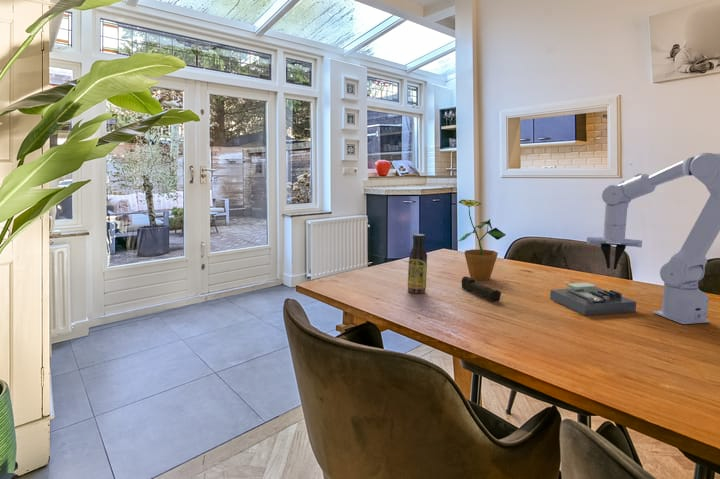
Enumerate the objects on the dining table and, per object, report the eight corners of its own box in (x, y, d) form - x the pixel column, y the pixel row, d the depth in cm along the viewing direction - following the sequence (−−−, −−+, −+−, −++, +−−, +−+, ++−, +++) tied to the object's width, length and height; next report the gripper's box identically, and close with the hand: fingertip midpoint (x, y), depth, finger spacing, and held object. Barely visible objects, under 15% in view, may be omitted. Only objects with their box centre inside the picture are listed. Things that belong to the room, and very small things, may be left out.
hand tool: (501, 302, 129) (502, 287, 129) (490, 303, 128) (490, 289, 128) (468, 287, 147) (469, 274, 147) (459, 288, 146) (459, 275, 146)
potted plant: (454, 282, 153) (456, 201, 148) (458, 271, 170) (459, 198, 166) (506, 285, 147) (509, 201, 143) (503, 273, 165) (506, 198, 160)
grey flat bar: (603, 301, 117) (604, 298, 117) (594, 302, 117) (594, 299, 117) (574, 289, 129) (575, 287, 129) (566, 290, 129) (566, 287, 129)
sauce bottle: (405, 292, 141) (404, 235, 138) (411, 288, 146) (411, 232, 143) (423, 295, 138) (423, 236, 134) (429, 290, 143) (429, 233, 140)
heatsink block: (635, 311, 118) (636, 296, 117) (584, 315, 115) (585, 300, 115) (595, 295, 133) (596, 282, 133) (550, 299, 131) (550, 285, 130)
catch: (595, 292, 127) (596, 285, 126) (574, 293, 126) (575, 287, 125) (586, 288, 131) (587, 282, 130) (566, 290, 130) (566, 283, 129)
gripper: (586, 224, 127) (583, 267, 129) (643, 227, 119) (639, 273, 121) (589, 222, 133) (586, 263, 135) (643, 225, 125) (639, 268, 127)
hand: (611, 268), depth 129 cm, fingers closed
